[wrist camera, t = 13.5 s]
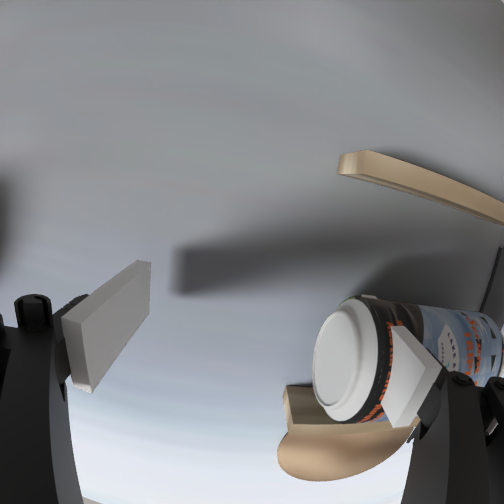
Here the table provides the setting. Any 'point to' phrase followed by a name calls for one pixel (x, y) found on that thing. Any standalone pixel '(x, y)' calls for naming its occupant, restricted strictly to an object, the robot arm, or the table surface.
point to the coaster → (337, 453)
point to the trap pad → (496, 293)
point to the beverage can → (381, 352)
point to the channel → (410, 181)
